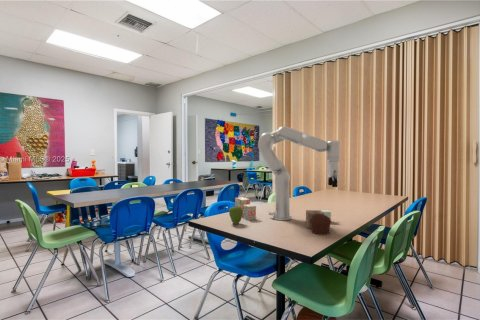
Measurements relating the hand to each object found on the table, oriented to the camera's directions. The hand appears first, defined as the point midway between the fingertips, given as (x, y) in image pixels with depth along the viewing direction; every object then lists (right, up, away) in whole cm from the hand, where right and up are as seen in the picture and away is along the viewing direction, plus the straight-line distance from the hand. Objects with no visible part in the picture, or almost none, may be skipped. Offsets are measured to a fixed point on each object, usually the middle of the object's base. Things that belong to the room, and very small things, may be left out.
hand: (332, 186), depth 175 cm
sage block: (-5, -23, -1) cm, 23 cm away
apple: (-63, -24, -4) cm, 67 cm away
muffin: (-15, -24, -25) cm, 37 cm away
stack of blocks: (-56, -23, +15) cm, 63 cm away
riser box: (-15, -23, -13) cm, 31 cm away
